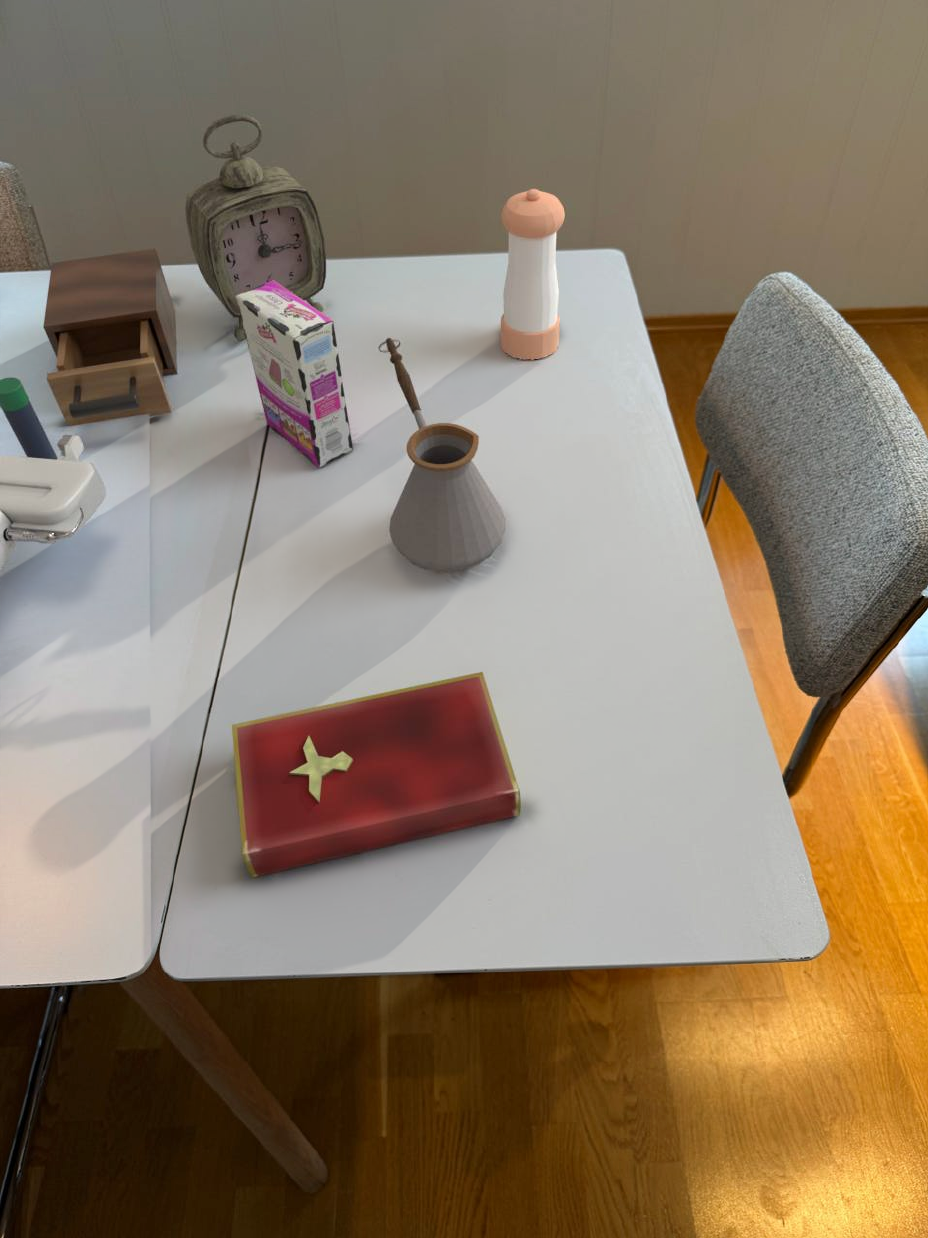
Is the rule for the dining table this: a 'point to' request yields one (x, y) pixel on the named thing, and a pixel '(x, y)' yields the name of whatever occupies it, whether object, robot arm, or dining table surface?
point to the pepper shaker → (531, 275)
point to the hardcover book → (370, 773)
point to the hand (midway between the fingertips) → (31, 436)
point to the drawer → (109, 373)
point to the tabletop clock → (254, 228)
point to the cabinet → (112, 297)
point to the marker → (24, 420)
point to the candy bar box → (297, 371)
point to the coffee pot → (443, 494)
